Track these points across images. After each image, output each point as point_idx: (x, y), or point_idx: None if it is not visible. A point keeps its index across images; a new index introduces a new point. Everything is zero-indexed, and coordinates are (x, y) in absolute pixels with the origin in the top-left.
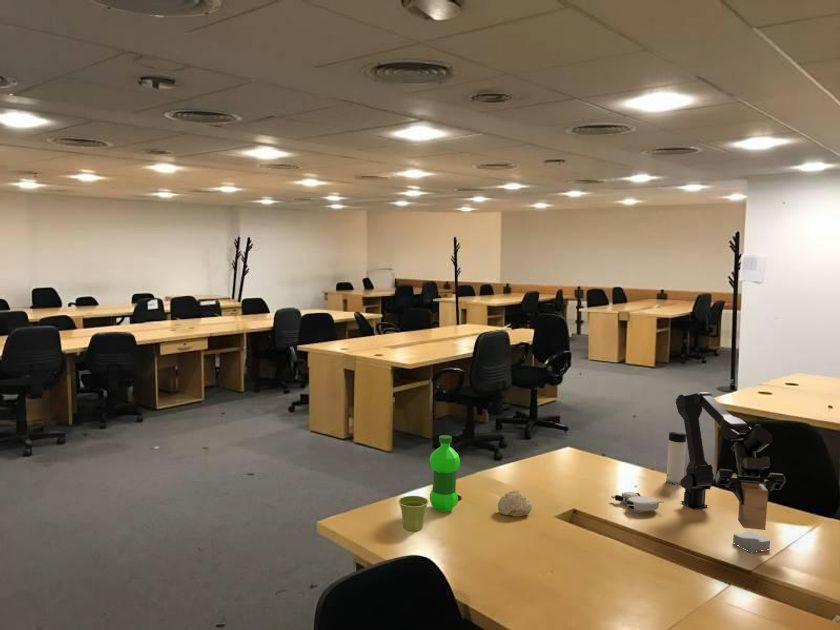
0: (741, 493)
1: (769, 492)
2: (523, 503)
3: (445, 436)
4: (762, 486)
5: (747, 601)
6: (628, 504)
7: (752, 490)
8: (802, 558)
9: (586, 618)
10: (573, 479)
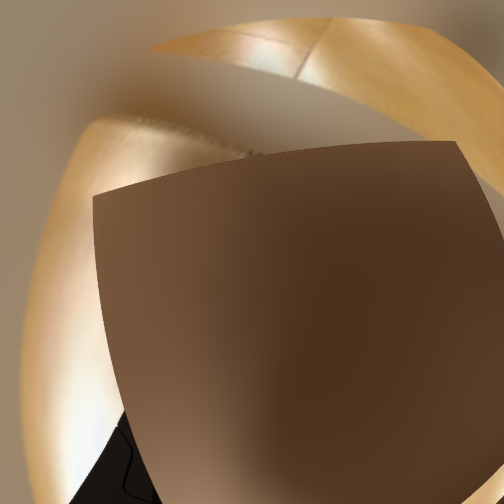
0: None
1: (101, 456)
2: None
3: None
4: (202, 491)
5: (256, 51)
6: None
7: (383, 151)
8: (87, 324)
9: (398, 26)
10: None
